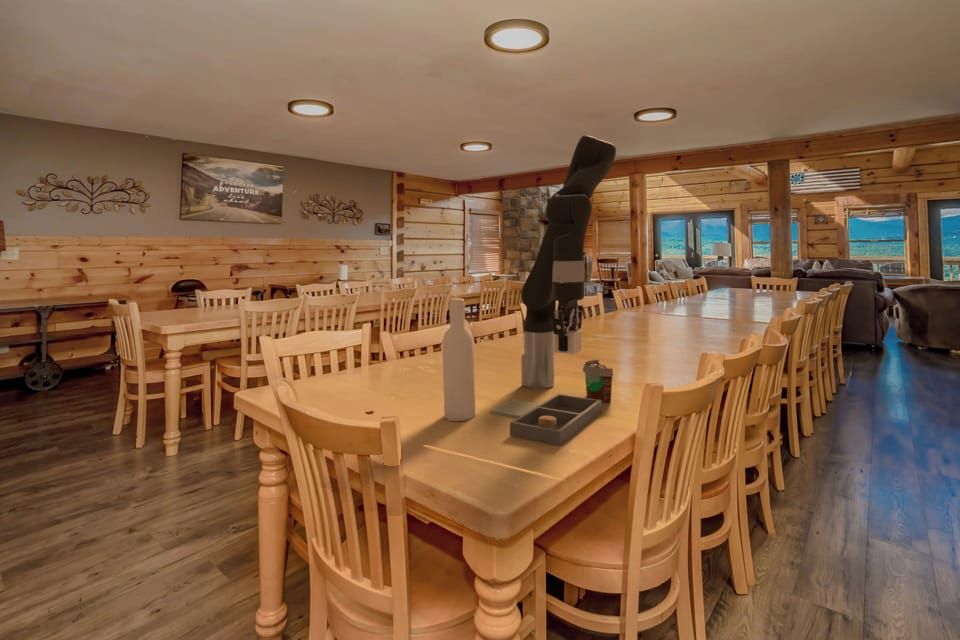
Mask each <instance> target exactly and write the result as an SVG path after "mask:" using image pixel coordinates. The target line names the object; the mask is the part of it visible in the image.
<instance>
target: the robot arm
mask: <svg viewBox="0 0 960 640" xmlns="http://www.w3.org/2000/svg"><path fill="white" fill-rule="evenodd" d="M616 155H617V148H616V146H615V145H614V144H613V143H611V142H608V141H605V140H603V139H599V138H596V137H595V136H591V135H586V134H584V135H582V136H581V137H580V138H579V140H578V142H577V144H576V147H575V148H574V152H573V155H572V158H571V161H570V164H569V167H568V169H567V174H566V176H565V179H564V183H563V186H562V188H560V189H559V190H557V191H556V192H555V193H553V194H552V195H551V196H550V198H549V199H548V201H547V204H546V207H545V216H546V219H547V222H548V223H547V226H546V229H545V232H544V234H543V237H542V240H541V244H540V246H539V250H538V252H537V257H536V259H535V261H534V263H533V266H532V268H531V270H530V272H529V274H528V275H527V278H526V279H525V282H524V284H523V286H522V289H521V293H520V295H521V296H520V297H521V301H522V303H523V305H524V306H525V307H526V311H525V312H526V315H525V319H524V320H523V354H522V355H521V356H520V357H521V366H520V367H521V386H525V387H526V388H531V389H550V388H553V387H554V386H555V352H554V334H557V336H558V350H559V351H562V352H566V351H568V332H569V330H581V329H582V323H583V310H584V305H579V304H578V303H579V302H578V301H582V300H583V299H584V298H585V266H584V243H585V238H586V233H587V228H588V226H589V223H590V219H591V216H592V209H593V206H592V201H591V198H592V196H593V193H594V192H595V190H596V188H597V186H598V185H599V184H600V183H602V181H603V180H604V178H605V177H606V176H607V175H608V173H609V171H610V170H611V168H612V165H613V164H614V160H615V159H616V158H615V157H616ZM557 302H558V303H557ZM556 306H557V307H556Z"/></svg>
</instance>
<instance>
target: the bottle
mask: <svg viewBox="0 0 960 640" xmlns="http://www.w3.org/2000/svg"><path fill="white" fill-rule="evenodd" d="M448 303H449V304H448V306H449V318H450V319H449V325H450V326H449V328H448V329H447V330H446V331H445V332H444V335H443V338H442V342H441V343H442V374H443V377H442V378H443V380H442V381H443V403H444V404H443V412H444V419H445V420H447V421H449V420H450V422H455V421H457V422H458V421H463V422H467V421H470V420H472V419H474V418H476V393H475V391H476V389H475V388H476V387H475V386H476V384H475V348H474V345H475V343H474V342H475V341H474V337H473V334H472V332H471V331H470V330H469V329H468V328H467V327H466V319H465V318H466V317H465V316H466V315H465V309H466V308H465V307H466V303H465V299H464V298H461V297H459V298H456V297H455V298H450V299H449V302H448Z"/></svg>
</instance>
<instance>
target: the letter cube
mask: <svg viewBox="0 0 960 640" xmlns="http://www.w3.org/2000/svg"><path fill="white" fill-rule="evenodd" d="M582 334H583V332H582V330H580V329H578V330H569V332H568V351H566V352H562V351H559V350H558V336H557V334H554V353H559V354H567V355H575V354H577V353H579V352H581V351H582V342H583V341H582Z"/></svg>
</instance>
